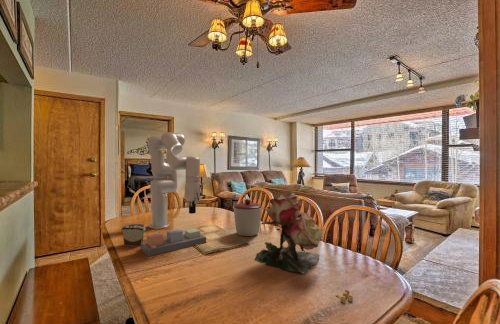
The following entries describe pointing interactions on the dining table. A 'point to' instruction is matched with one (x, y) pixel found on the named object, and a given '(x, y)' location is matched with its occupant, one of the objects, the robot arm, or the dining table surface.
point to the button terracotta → (154, 239)
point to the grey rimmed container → (133, 234)
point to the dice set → (345, 296)
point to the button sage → (192, 233)
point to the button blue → (174, 235)
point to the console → (171, 245)
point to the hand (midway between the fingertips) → (192, 213)
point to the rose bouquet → (291, 236)
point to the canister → (247, 218)
